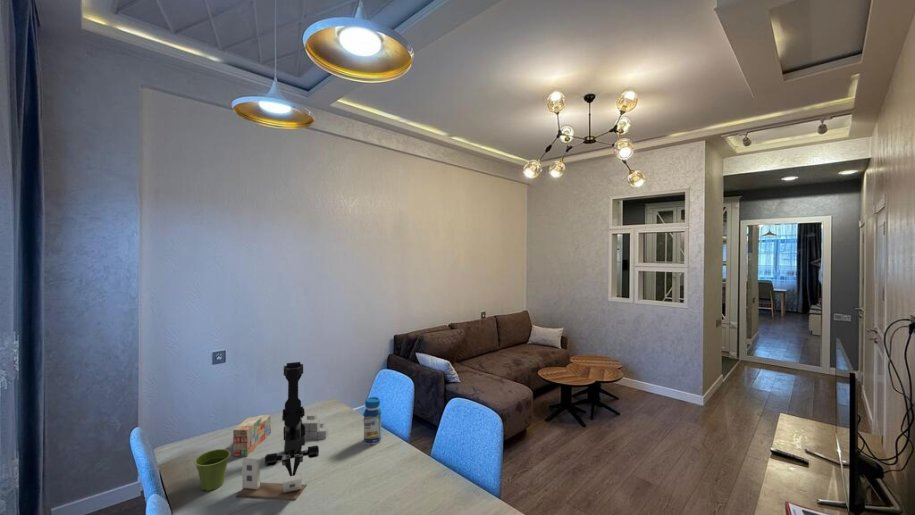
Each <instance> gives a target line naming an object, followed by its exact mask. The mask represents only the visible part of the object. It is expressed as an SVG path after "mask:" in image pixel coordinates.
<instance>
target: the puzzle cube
mask: <svg viewBox="0 0 915 515" xmlns="http://www.w3.org/2000/svg"><path fill="white" fill-rule="evenodd" d="M303 423H304V426H305V435H304V436H305V440H327V438H328V436H329V427H326V420H322V419H321V420H320V419H318V412H308V414H307V415H306V419H302V424H303Z"/></svg>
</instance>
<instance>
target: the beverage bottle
mask: <svg viewBox="0 0 915 515" xmlns="http://www.w3.org/2000/svg"><path fill="white" fill-rule="evenodd" d="M380 401H381V400H380V398H379V397H376V396H372V397H368V398H366V399H365V403H364V404H365V410H364V412H363V442H364V443H365V444H366V445H369V444H372V445H377V444H379V443H380V442H381V441H382V421H383V420H382V418H383V417H382V410H381V408H380V405H381V402H380ZM378 442H379V443H378ZM376 443H377V444H376Z"/></svg>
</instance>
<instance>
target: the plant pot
mask: <svg viewBox="0 0 915 515" xmlns="http://www.w3.org/2000/svg"><path fill="white" fill-rule="evenodd" d="M231 454H232V453H231V450H229V449H226V448H225V449H224V448H219V449H213V450H212V449H211V450H209V451H206V452H203V453H202V454H199V455H198V456H197V457H196V458H195V459H194V462H193V463H194V465H195V466H196V469H197V473H198V478H199V482H200V487H201V490H202V491H206V492H210V491H213V490H214V491H215V490H216V489H219V488H220V487H221V486H222V485H223V484H224V483H225V477H226V470H227V464H228V462H229V459H230V456H231Z"/></svg>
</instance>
